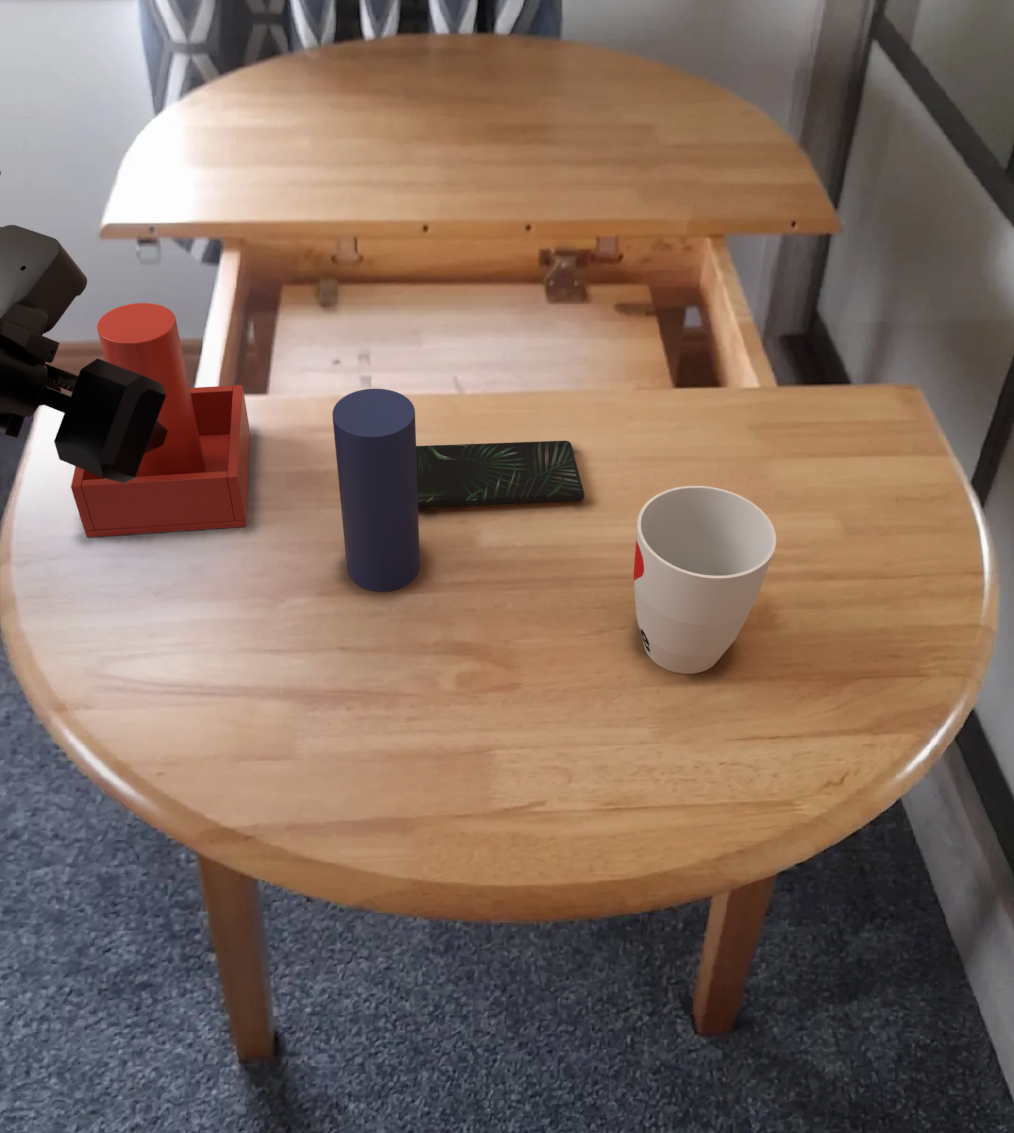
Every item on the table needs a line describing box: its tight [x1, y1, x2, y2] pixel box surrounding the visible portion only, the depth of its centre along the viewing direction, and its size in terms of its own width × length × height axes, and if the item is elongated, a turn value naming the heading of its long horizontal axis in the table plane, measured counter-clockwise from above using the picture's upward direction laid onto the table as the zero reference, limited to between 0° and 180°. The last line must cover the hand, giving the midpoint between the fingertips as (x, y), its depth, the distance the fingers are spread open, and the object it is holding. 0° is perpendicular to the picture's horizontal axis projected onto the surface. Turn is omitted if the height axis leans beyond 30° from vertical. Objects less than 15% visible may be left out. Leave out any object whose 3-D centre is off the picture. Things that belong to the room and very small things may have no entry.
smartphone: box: [416, 440, 585, 511], centre depth 83 cm, size 7×1×15 cm
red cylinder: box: [96, 302, 206, 477], centre depth 78 cm, size 5×5×13 cm
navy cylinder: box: [332, 388, 421, 593], centre depth 72 cm, size 5×5×13 cm
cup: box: [633, 485, 777, 675], centre depth 69 cm, size 8×8×10 cm
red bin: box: [70, 384, 251, 538], centre depth 81 cm, size 11×11×5 cm
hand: (109, 416), depth 74 cm, fingers open, 9 cm apart
